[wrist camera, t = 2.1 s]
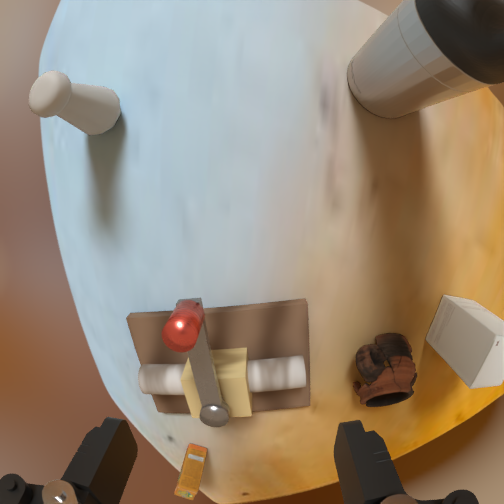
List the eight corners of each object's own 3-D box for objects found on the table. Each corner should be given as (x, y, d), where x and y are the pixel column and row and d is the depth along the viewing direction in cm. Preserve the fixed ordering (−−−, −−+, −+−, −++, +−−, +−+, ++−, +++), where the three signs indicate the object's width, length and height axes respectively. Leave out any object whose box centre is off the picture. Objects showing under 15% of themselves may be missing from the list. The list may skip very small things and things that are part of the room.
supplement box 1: (187, 441, 41) (177, 487, 32) (207, 447, 42) (200, 493, 32) (184, 451, 42) (173, 495, 33) (203, 457, 42) (195, 501, 33)
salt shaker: (136, 101, 30) (78, 68, 17) (113, 144, 31) (46, 132, 18) (101, 86, 29) (39, 55, 16) (79, 127, 30) (10, 113, 18)
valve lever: (231, 417, 29) (228, 452, 24) (204, 417, 29) (197, 452, 24) (206, 293, 25) (195, 320, 20) (173, 295, 25) (155, 322, 20)
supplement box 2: (423, 340, 36) (467, 390, 24) (442, 292, 35) (497, 333, 22) (456, 343, 37) (500, 387, 24) (474, 299, 35) (527, 336, 23)
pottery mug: (421, 341, 37) (430, 392, 31) (370, 365, 43) (374, 413, 37) (379, 313, 33) (390, 376, 27) (321, 343, 38) (323, 400, 32)
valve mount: (305, 298, 35) (319, 334, 26) (308, 398, 39) (318, 442, 30) (130, 312, 36) (101, 346, 27) (160, 405, 40) (145, 446, 31)
